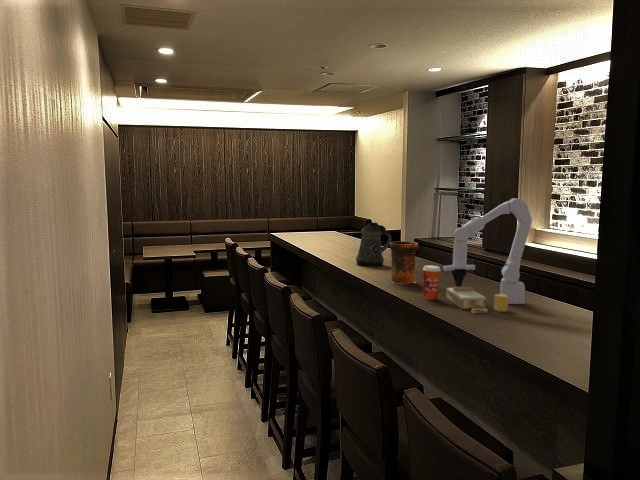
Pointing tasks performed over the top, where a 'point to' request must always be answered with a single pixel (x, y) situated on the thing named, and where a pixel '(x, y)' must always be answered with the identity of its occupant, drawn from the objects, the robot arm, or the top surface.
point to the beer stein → (372, 245)
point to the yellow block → (500, 302)
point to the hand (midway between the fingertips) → (458, 286)
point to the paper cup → (431, 282)
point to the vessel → (403, 261)
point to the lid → (466, 293)
